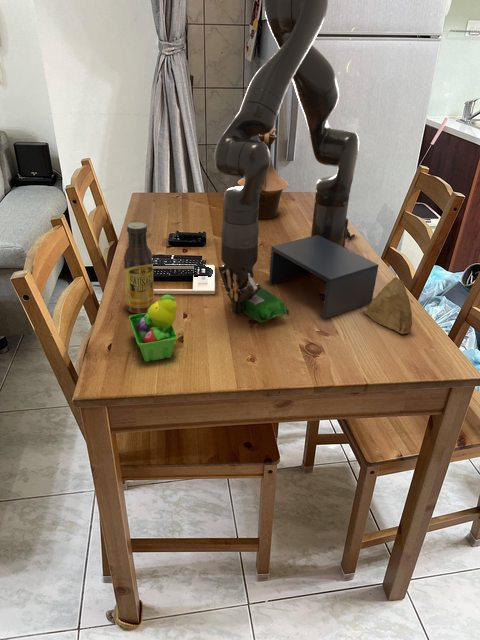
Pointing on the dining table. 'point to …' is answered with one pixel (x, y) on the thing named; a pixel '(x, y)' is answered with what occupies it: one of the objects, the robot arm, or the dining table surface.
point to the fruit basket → (156, 329)
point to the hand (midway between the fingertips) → (237, 312)
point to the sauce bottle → (138, 270)
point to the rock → (392, 307)
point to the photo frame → (199, 283)
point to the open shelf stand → (326, 271)
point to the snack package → (264, 306)
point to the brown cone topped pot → (269, 184)
